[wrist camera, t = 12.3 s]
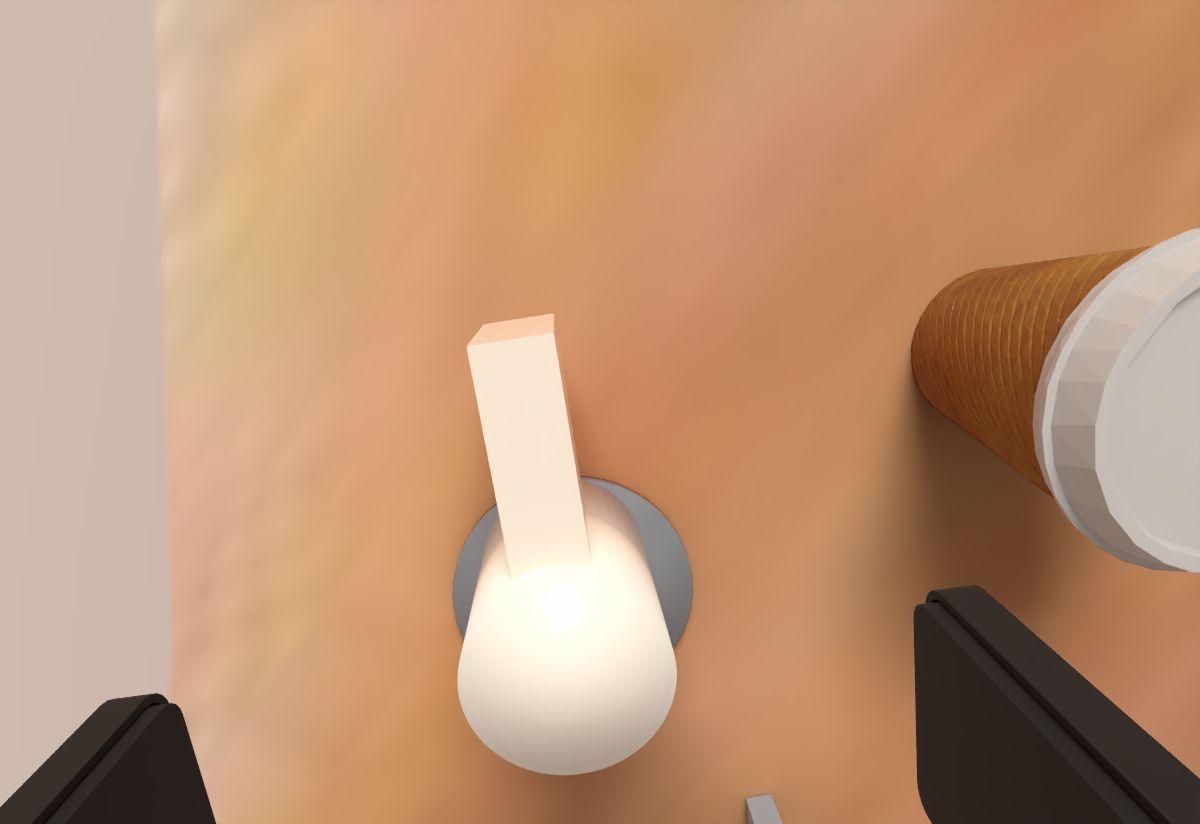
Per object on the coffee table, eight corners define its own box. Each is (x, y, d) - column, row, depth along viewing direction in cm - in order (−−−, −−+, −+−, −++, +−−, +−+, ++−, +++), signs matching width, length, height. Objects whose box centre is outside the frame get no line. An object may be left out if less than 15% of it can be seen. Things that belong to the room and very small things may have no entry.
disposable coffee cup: (843, 435, 30) (1022, 559, 19) (912, 201, 28) (1161, 177, 17) (1053, 477, 31) (1346, 619, 20) (1135, 254, 29) (1515, 265, 18)
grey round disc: (677, 460, 30) (680, 464, 30) (700, 674, 33) (703, 682, 32) (435, 494, 30) (433, 498, 29) (475, 707, 32) (474, 716, 32)
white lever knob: (650, 609, 31) (688, 755, 22) (500, 634, 31) (479, 791, 22) (606, 297, 28) (629, 326, 19) (438, 323, 28) (385, 364, 19)
